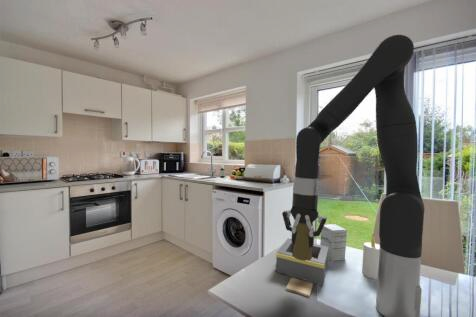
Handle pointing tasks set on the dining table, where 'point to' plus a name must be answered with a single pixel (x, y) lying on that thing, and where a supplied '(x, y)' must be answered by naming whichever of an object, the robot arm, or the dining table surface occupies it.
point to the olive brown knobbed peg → (302, 243)
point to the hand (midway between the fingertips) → (302, 245)
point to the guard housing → (303, 263)
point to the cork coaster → (299, 287)
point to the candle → (371, 259)
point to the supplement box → (334, 241)
